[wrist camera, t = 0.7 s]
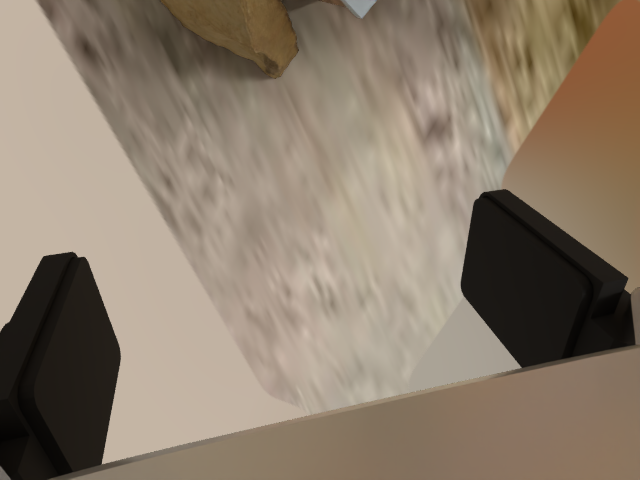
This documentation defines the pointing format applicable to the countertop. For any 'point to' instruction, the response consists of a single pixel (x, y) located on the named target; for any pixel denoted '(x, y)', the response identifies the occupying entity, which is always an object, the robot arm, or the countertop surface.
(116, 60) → the countertop surface
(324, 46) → the countertop surface
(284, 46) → the rock
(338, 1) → the crate
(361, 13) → the lid
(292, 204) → the countertop surface
